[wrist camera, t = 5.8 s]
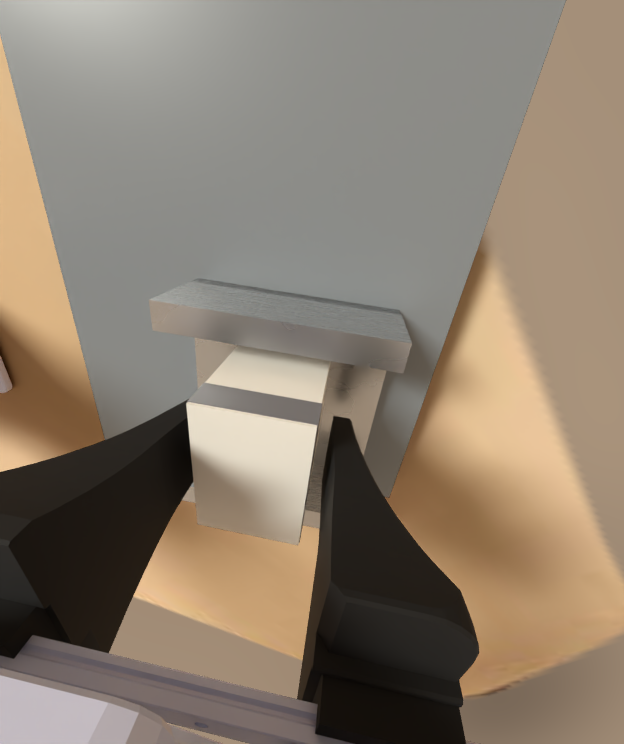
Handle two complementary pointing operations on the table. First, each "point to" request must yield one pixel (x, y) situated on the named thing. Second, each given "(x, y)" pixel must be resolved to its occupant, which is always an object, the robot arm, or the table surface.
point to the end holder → (293, 348)
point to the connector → (256, 442)
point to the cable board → (269, 166)
